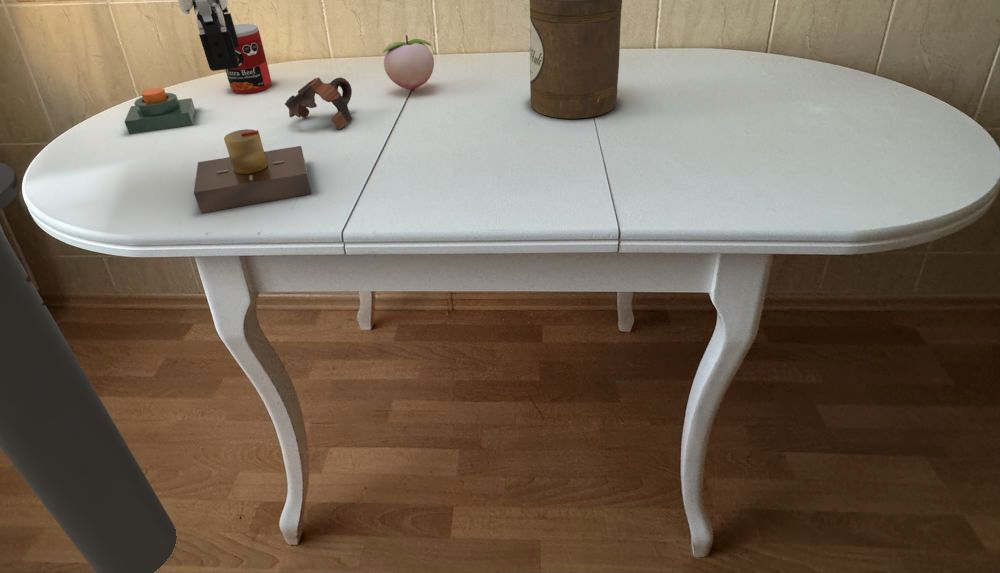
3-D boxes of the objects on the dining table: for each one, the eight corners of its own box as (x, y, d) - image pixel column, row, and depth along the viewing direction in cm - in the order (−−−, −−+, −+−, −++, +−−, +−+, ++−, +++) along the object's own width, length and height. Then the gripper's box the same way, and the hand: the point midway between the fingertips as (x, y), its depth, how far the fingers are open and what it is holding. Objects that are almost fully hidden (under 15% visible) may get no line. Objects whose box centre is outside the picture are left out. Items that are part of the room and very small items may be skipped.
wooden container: (544, 87, 116) (544, -45, 103) (623, 93, 111) (634, -44, 98) (518, 115, 104) (515, -30, 92) (605, 123, 100) (615, -28, 87)
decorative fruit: (404, 102, 112) (397, 44, 106) (381, 92, 117) (372, 36, 111) (446, 90, 116) (442, 34, 111) (422, 80, 122) (417, 26, 116)
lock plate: (201, 213, 80) (193, 191, 78) (204, 181, 88) (197, 160, 86) (311, 193, 83) (306, 172, 82) (305, 164, 91) (300, 144, 89)
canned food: (225, 94, 119) (207, 34, 113) (240, 81, 126) (224, 24, 119) (264, 93, 119) (248, 33, 112) (277, 80, 125) (263, 23, 119)
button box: (129, 134, 104) (119, 110, 102) (135, 118, 110) (126, 96, 108) (192, 124, 106) (185, 102, 104) (195, 110, 113) (188, 88, 110)
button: (143, 106, 104) (139, 95, 103) (146, 99, 107) (142, 89, 106) (166, 103, 105) (163, 92, 104) (168, 96, 108) (165, 86, 107)
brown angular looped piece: (332, 139, 100) (296, 96, 96) (304, 152, 107) (270, 112, 103) (375, 98, 106) (343, 56, 102) (346, 112, 113) (315, 74, 109)
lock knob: (233, 176, 82) (222, 142, 79) (233, 163, 85) (223, 130, 82) (268, 170, 83) (258, 136, 80) (267, 158, 86) (258, 124, 83)
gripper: (148, -109, 72) (197, 45, 82) (126, -101, 58) (188, 82, 68) (216, -114, 73) (256, 38, 83) (211, -107, 60) (259, 73, 70)
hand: (225, 58), depth 76 cm, fingers open, 9 cm apart
